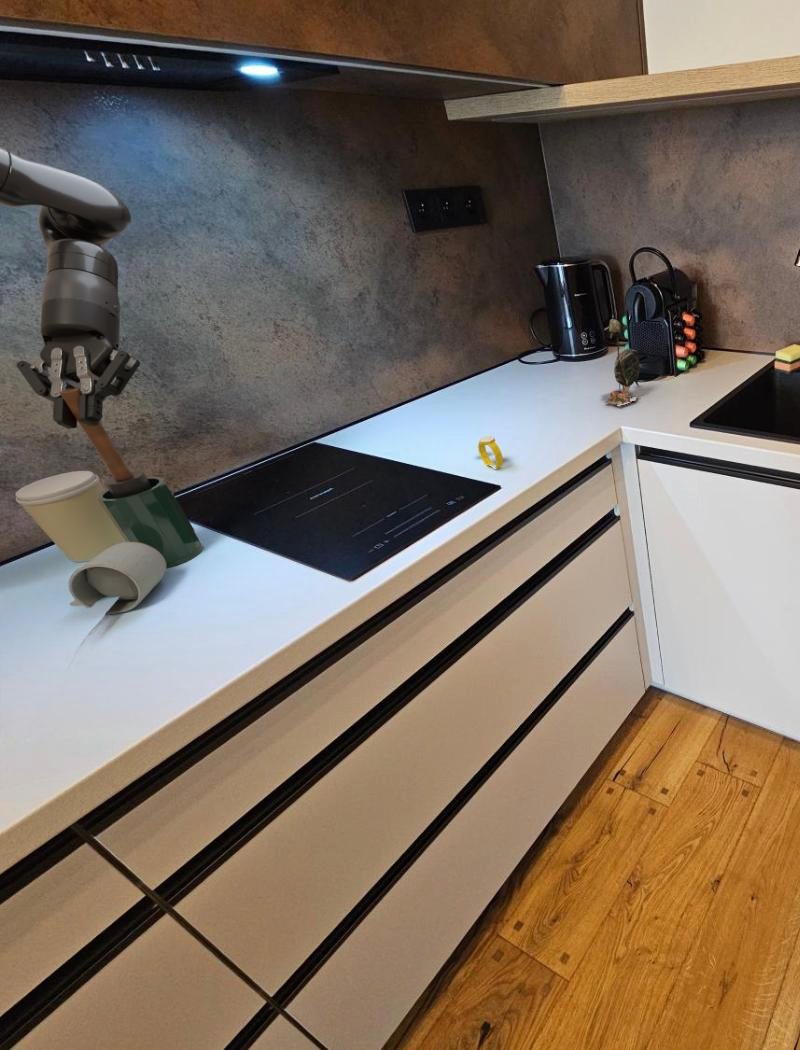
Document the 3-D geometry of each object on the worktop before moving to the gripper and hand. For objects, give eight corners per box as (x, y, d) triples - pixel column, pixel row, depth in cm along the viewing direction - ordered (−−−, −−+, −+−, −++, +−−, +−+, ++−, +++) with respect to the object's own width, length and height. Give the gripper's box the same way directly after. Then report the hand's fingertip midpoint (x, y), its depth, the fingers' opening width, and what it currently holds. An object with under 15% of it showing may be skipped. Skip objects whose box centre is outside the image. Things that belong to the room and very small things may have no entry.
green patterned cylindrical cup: (134, 575, 88) (86, 505, 81) (156, 549, 94) (113, 482, 88) (193, 563, 89) (150, 494, 83) (211, 538, 96) (172, 473, 89)
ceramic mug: (181, 574, 87) (151, 530, 83) (153, 606, 80) (120, 560, 76) (98, 590, 85) (64, 546, 81) (62, 625, 78) (23, 579, 74)
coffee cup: (136, 527, 101) (95, 464, 94) (139, 547, 94) (95, 481, 88) (64, 550, 95) (15, 484, 89) (61, 572, 89) (9, 504, 83)
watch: (479, 466, 114) (471, 437, 111) (491, 461, 116) (483, 432, 113) (496, 473, 111) (489, 444, 108) (508, 468, 113) (501, 439, 110)
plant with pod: (653, 397, 144) (644, 313, 133) (616, 410, 137) (604, 322, 127) (633, 391, 149) (623, 309, 138) (596, 403, 142) (583, 318, 132)
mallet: (118, 517, 85) (39, 397, 75) (132, 504, 88) (58, 388, 79) (154, 511, 86) (80, 392, 77) (166, 498, 89) (97, 383, 80)
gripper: (-4, 301, 77) (-13, 420, 73) (116, 290, 80) (113, 405, 76) (49, 333, 85) (44, 443, 81) (158, 323, 87) (157, 429, 83)
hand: (77, 424), depth 78 cm, fingers closed on mallet, 2 cm apart
